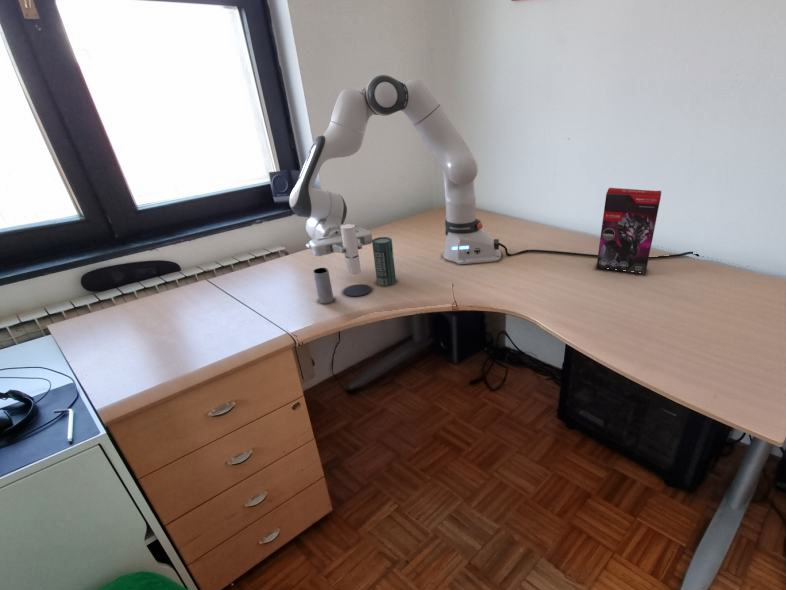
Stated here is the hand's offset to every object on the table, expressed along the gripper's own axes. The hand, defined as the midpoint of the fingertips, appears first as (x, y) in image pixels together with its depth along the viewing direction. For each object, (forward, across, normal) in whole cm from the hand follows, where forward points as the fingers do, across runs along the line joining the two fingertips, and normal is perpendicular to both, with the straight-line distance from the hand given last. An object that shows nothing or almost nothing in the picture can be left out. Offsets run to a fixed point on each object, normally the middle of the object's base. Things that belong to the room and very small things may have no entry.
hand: (352, 248), depth 143 cm
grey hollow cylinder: (-1, -11, +15) cm, 19 cm away
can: (-1, +11, +15) cm, 19 cm away
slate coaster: (-1, 0, +15) cm, 15 cm away
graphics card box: (+44, +81, +15) cm, 94 cm away
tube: (-1, 0, +8) cm, 8 cm away
